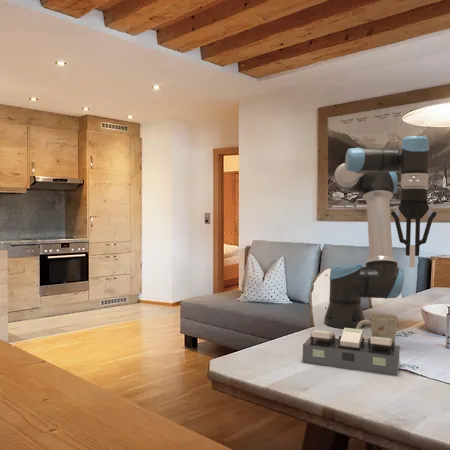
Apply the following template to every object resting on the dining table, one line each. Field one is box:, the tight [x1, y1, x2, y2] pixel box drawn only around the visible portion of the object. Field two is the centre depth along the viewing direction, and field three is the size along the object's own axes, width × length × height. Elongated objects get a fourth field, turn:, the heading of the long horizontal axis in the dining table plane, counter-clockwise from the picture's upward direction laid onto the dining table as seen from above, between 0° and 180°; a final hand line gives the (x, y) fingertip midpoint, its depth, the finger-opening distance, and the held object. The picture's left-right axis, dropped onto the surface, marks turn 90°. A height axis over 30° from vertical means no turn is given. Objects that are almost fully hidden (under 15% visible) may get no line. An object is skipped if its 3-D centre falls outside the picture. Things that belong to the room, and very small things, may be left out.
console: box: [302, 334, 401, 377], centre depth 130 cm, size 11×25×7 cm, turn 67°
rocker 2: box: [340, 328, 363, 348], centre depth 130 cm, size 8×5×2 cm, turn 157°
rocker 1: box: [310, 329, 335, 339], centre depth 133 cm, size 8×5×2 cm, turn 157°
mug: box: [356, 312, 399, 342], centre depth 147 cm, size 8×13×10 cm, turn 78°
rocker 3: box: [370, 336, 392, 346], centre depth 127 cm, size 8×5×2 cm, turn 157°
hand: (412, 266), depth 139 cm, fingers closed
